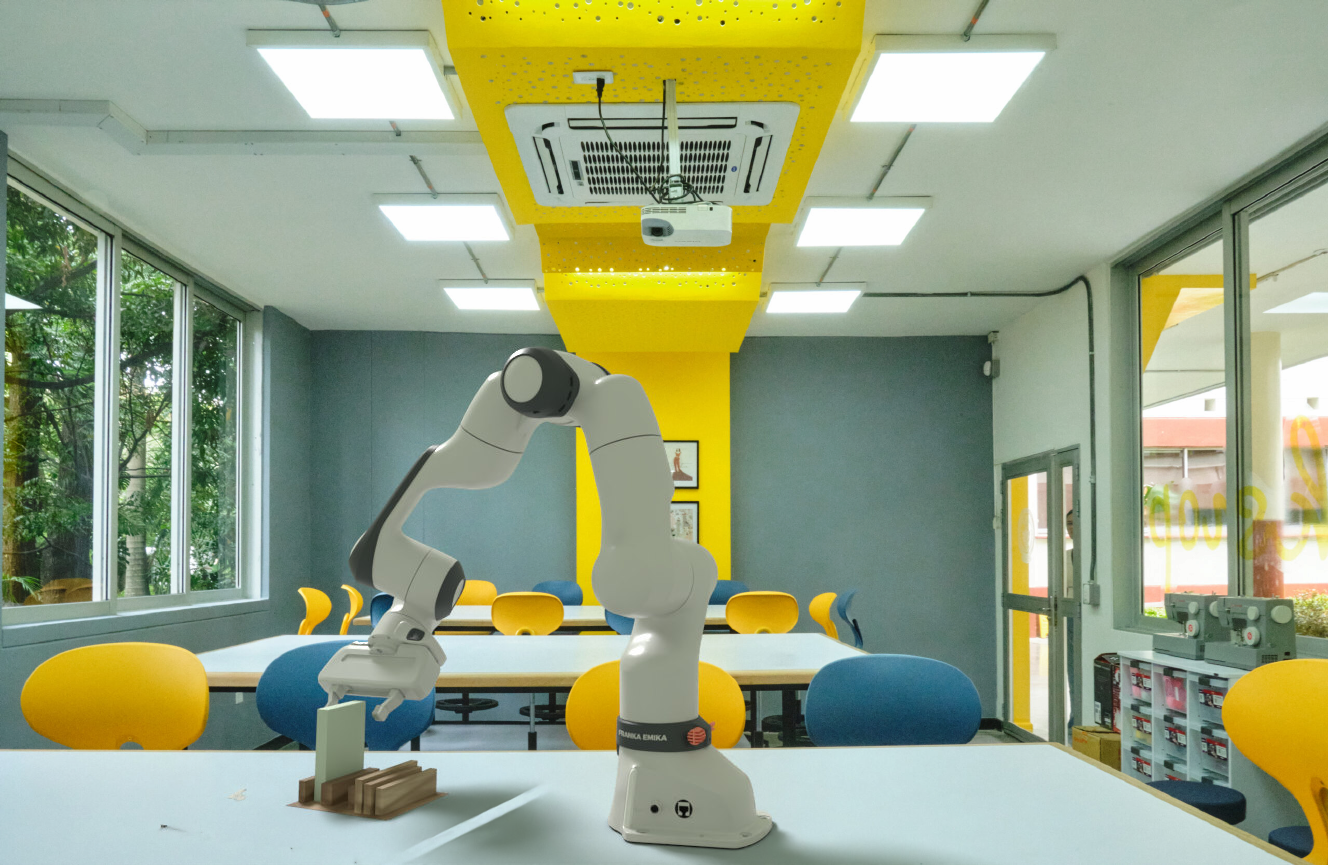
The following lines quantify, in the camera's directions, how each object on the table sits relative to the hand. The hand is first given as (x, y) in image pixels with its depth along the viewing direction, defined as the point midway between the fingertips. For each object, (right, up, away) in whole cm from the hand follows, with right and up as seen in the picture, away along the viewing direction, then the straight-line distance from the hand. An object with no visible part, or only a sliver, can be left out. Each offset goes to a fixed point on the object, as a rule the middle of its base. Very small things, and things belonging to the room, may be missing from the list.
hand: (352, 716), depth 140 cm
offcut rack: (+4, -11, -6) cm, 14 cm away
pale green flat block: (-1, -11, -3) cm, 11 cm away
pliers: (-16, -12, -8) cm, 21 cm away
